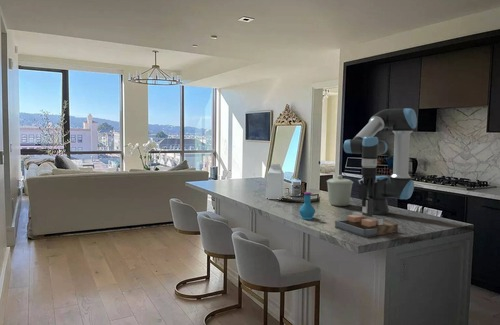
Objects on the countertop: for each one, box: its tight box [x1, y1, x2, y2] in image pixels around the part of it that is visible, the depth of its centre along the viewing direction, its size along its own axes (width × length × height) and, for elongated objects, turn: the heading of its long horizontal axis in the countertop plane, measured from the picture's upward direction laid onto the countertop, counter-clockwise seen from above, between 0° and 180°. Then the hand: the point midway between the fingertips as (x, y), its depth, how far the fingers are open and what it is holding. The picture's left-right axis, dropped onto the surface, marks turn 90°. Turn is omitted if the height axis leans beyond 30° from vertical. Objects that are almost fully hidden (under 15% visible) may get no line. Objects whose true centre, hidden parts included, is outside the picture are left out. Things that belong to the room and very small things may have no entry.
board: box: [348, 219, 399, 236], centre depth 198 cm, size 15×20×4 cm
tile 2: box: [361, 219, 376, 227], centre depth 189 cm, size 5×5×2 cm
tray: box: [334, 219, 378, 238], centre depth 192 cm, size 8×21×4 cm, turn 29°
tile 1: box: [346, 214, 361, 222], centre depth 198 cm, size 5×5×2 cm
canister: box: [326, 174, 354, 207], centre depth 262 cm, size 18×18×21 cm
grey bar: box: [352, 196, 384, 225], centre depth 195 cm, size 3×18×12 cm, turn 29°
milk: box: [264, 163, 285, 200], centre depth 284 cm, size 12×12×26 cm
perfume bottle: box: [298, 191, 316, 220], centre depth 220 cm, size 9×9×15 cm
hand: (367, 212), depth 195 cm, fingers closed on grey bar, 3 cm apart
